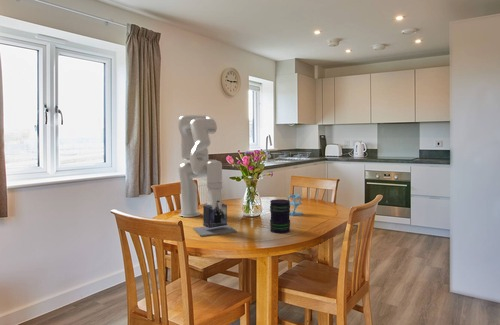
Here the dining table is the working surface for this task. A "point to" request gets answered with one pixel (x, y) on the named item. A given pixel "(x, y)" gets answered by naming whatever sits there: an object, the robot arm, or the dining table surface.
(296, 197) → the chair
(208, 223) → the small box
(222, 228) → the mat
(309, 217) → the dining table surface
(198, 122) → the robot arm
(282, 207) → the storage jar
